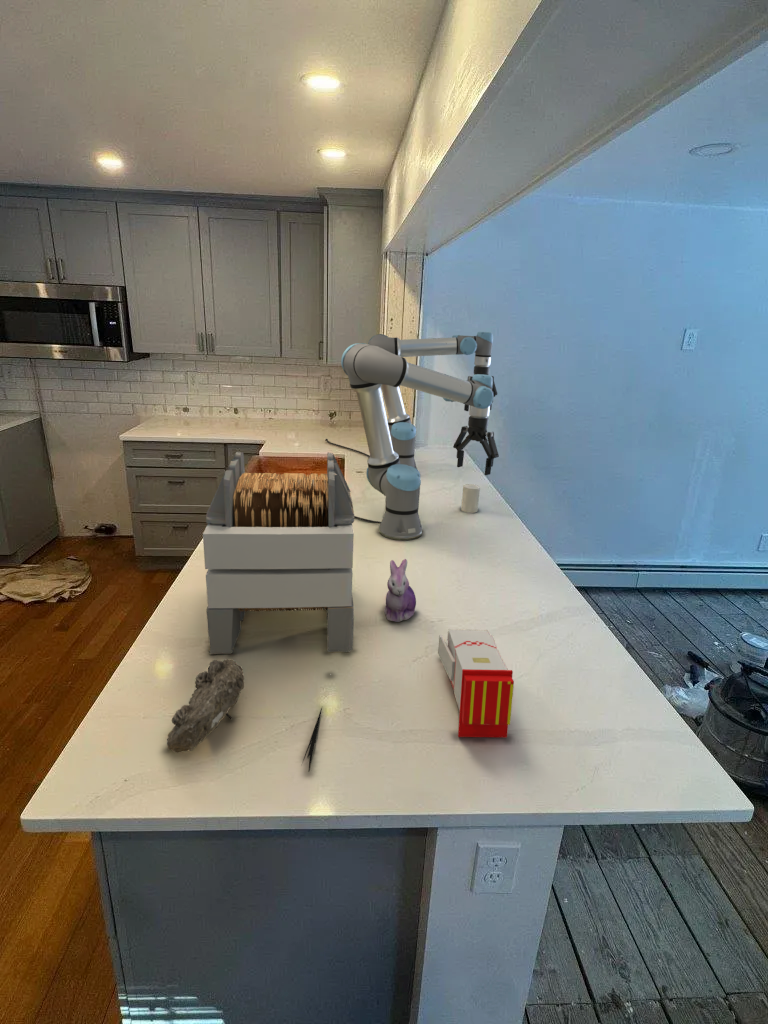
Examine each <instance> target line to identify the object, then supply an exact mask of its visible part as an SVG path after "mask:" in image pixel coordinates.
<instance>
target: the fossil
mask: <svg viewBox="0 0 768 1024" xmlns="http://www.w3.org/2000/svg"><path fill="white" fill-rule="evenodd" d="M243 670H244V669H243V667H242V665H240V664H237V662H236V661H235V660H234V659H232V658H231V659H227V658H226V659H224V660H223V661H222V660H217V659H212V660H211V661H210V663H209V665H208V666H207V671H201V672H199V673H198V674H197V675H196V676H195V680H194V684H195V685H194V687H195V689H194V690H193V693H192V694H191V697H190V698H189V700H188V704H184V705H182V706H181V707H180V709H177V710H176V711H175V713H174V715H173V716H172V718H171V723H172V724H173V727H172V730H171V731H170V732H168V734H167V738H166V741H167V742H166V745H167V749H168V750H169V751H173V752H174V753H176V754H178V753H182V752H188V751H189V752H192V751H193V750H195V748H196V747H197V746H199V744H200V743H201V742H203V741H204V740H205V739H206V738H207V737H208V736H209V735H210V734H211V733H212V732H214V730H215V729H217V727H218V726H219V724H220V722H221V721H222V720H223V719H224V718H225V716H226V717H227V719H229V720H233V717H232V715H230V714H229V710H230V709H231V708H234V706H235V704H236V703H237V702H238V699H239V697H240V695H241V693H242V691H243V690H245V689H244V688H245V675H244V671H243Z"/></svg>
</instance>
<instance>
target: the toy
mask: <svg viewBox="0 0 768 1024" xmlns="http://www.w3.org/2000/svg"><path fill="white" fill-rule="evenodd" d="M446 640H447V643H446V641H445V639H444V636H443V635H442V634H439V637H438V646H437V656H438V657H439V659H440V661H441V663H442V666H443V668H444V670H445V672H446V674H447V677H448V679H449V681H450V684H451V687H452V690H453V693H454V697H455V701H456V705H457V708H458V711H459V714H458V715H459V716H458V730H457V731H458V732H457V737H458V738H508V731H509V726H510V725H511V717H512V707H513V697H514V696H513V695H514V684H515V680H514V679H513V673H514V671H513V670H512V669H508V667H507V665H506V662H505V661H504V659H503V658H502V655H501V653H500V651H499V649H498V647H497V643H496V639H495V637H494V635H493V634H491V632H490V631H489V629H467V628H466V629H465V628H463V629H461V628H460V629H459V628H448V630H447V639H446Z"/></svg>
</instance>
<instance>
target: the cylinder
mask: <svg viewBox="0 0 768 1024" xmlns="http://www.w3.org/2000/svg"><path fill="white" fill-rule="evenodd" d="M480 492H481V486H480V485H477V484H474V483H465V484H463V486H462V496H461V506H460V510H461V511H462V512H464V513H469V514H473V513H474V514H475V513H477V512H479V502H480V494H481V493H480Z"/></svg>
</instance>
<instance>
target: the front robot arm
mask: <svg viewBox="0 0 768 1024" xmlns="http://www.w3.org/2000/svg"><path fill="white" fill-rule="evenodd" d="M340 364H341V368H342V370H343V372H344V374H345V375H346V376H347V378H348V383H349V386H350V389H351V390H353V391H354V392H355V394H356V398H357V403H358V407H359V411H360V414H361V420H362V425H363V429H364V434H365V439H366V443H367V448H368V453H369V456H370V457H368V459H367V461H366V463H367V468H366V479H367V481H368V483H369V485H370V486H371V487H372V488H373V489H374V490H376V491H378V492H379V493H381V494H382V495H383V496H385V504H384V505H385V507H384V508H385V509H384V513H383V515H382V519H381V521H379V520H372V519H367V518H364V517H359V516H356V515H354V519H356V520H359V521H363V522H368V523H371V524H379V527H378V533H379V534H380V535H381V536H382V537H385V538H387V539H389V540H395V541H410V540H415V539H418V538H420V537H421V536H422V535H423V525H422V524H421V518H420V515H419V507H420V506H419V505H420V496H421V495H420V494H421V493H420V492H421V483H422V480H421V472H420V471H419V470H418V468H417V469H416V468H414V467H412V466H408V465H404V464H400V460H399V455H398V454H397V453H396V452H394V451H393V446H392V441H391V436H390V431H389V426H388V421H387V420H388V417H387V416H388V415H387V410H386V405H385V401H384V397H383V393H382V389H381V385H382V384H384V385H389V386H393V387H399V388H400V386H401V387H405V388H409V389H411V390H415V391H419V392H422V393H426V394H429V395H433V396H436V397H440V398H442V399H443V400H444V401H445V402H451V403H453V402H457V403H460V404H462V405H465V404H466V405H469V411H468V415H469V416H468V422H467V425H464V426H461V429H460V432H459V434H458V436H457V438H456V439H455V441H454V444H453V445H452V447H453V449H455V450H456V459H457V461H456V467H457V468H463V466H464V458H465V447H467V446H468V444H469V443H470V442H471V441H475V442H478V443H479V444H481V447H482V448H483V450H484V452H485V454H486V456H487V457H486V459H485V467H484V476H489V475H491V473H492V468H493V466H494V462H495V461H494V459H497V458H500V457H499V456H500V455H499V451H498V448H497V443H496V440H495V432H494V431H488V427H489V421H490V419H489V417H490V411H491V410H490V405H491V404H492V405H493V403H492V401H493V402H494V398H495V397H494V396H493V392H492V388H493V387H492V385H493V378H492V376H493V375H490V374H489V375H484V374H475V375H474V374H473V375H472V377H473V378H472V380H469V381H467V380H465V379H461V378H458V377H455V376H453V375H449V374H446V373H442V372H440V371H436V370H433V369H430V368H427V367H424V366H420V365H418V364H414V363H411V362H408V360H407V358H406V357H400V356H398V355H395V354H393V353H391V352H389V351H387V350H385V349H382V348H380V347H378V346H373V345H368V343H365V342H356V343H353V344H350V345H349V346H347V348H345V350H344V351H343V353H342V355H341V360H340ZM493 397H494V398H493ZM467 433H468V434H467Z"/></svg>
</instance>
